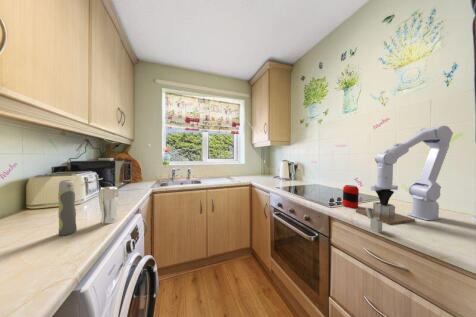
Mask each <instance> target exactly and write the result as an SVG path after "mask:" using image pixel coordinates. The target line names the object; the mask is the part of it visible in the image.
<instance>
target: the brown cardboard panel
mask: <svg viewBox="0 0 476 317" xmlns="http://www.w3.org/2000/svg"><path fill="white" fill-rule="evenodd" d="M378 203H380V201H378V202H377V201H375V202H374V201H373V204H372V211H373V214H374V217H377V218H379V221H381V222H382V224H386V225H396V224H405V223H412V222H416V219H415V218H414V217H413V218H412V217H411V216H410V217H409V216H405V215H403V214H400V213H397V212H396V206H395V205H394V204H391V203H388V205H390V206H382V205H378ZM355 213H356V214H360V215H362V216H365V217H367V218H368V216H367V212H366V208H365V209H356V210H355Z"/></svg>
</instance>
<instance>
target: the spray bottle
mask: <svg viewBox="0 0 476 317" xmlns="http://www.w3.org/2000/svg"><path fill="white" fill-rule="evenodd" d="M57 199H58V235H59V236H67V235H72V234H74V233H75V232H76V231H77V228H78V227H77V220H76V219H77V217H76V216H77V211H76V210H77V209H76V193H75V182H74V181H73V180H72V179H65V180H61V181H60V182H59V183H58V197H57Z"/></svg>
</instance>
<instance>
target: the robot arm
mask: <svg viewBox="0 0 476 317" xmlns="http://www.w3.org/2000/svg"><path fill="white" fill-rule="evenodd" d="M453 134H454V132H453V131H452V129H451V128H450V127H449V126H448V125H441V126H434V127H424V128H420V129H419V130H417V131H416V133H414V134H413V135H412V136H410V137H409V138H408V139H407V140H405V141H403V142H402V143H401V142H398V143H394V144H393V145H392V146H391V147H390V148H388V149H385V150H384V152H379V153H377V155H376V156H375V157H374V161H375V163H376V166H377V176H376V177H377V178H376V184H375V185H372V186H370V191H373V192H375V193H376V194H377V196H378V199H379V202H380V203H381V204H382V205H387V204H389V201H390V199H391V197H392V196H393V194H394V193H395V191H394V190H396V191H397V190H398V189H399V186H398V185H395V184H393V180H394V177H393V176H394V164H396V163H397V162H398V159H400V158H401V157H403V156H405V155H406V154H407V153H409V150H410V148H412V147H414V146H416V145H417V144H420V143H421V142H422V143H424V144H425V145H426V146H429V148H430V149H429V153H428V154H427V155H428V156H427V157H426V160H425V163H424V166H423V167H422V168H423V169H422V171H421V174H420V176H419V178H416V179H415V180H413V182H412V183H411V185H409V187H408V193H409V195H411V198H412V208H411V210H412V212H410V213H407V216H410V217H413V218H417V219H419V220H424V221H434V220H435V221H436V220H441V219H442V218H441V217H439V214H440V212H439V211H440V205H439V202H437V200H438V199H440V197H441V188H442V186H441V184H439V183H437V179H438V178H439V175H440V171H441V169H442V167H443V164H444V161H445V160H446V156H447V153H448V150H449V148H450V143H451V139H452V137H453Z"/></svg>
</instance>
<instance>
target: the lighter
mask: <svg viewBox="0 0 476 317" xmlns="http://www.w3.org/2000/svg"><path fill="white" fill-rule="evenodd" d="M365 209H366V212H367V216H368V217H367V216H366V217H367V218H368V219H370V225H369V228H370V230H372V231H374V232H375V233H377V234H382V233H383V222H381V221H379V218H377V217H374V214H373V211H372V209H373V207H367V208H366V207H365Z"/></svg>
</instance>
